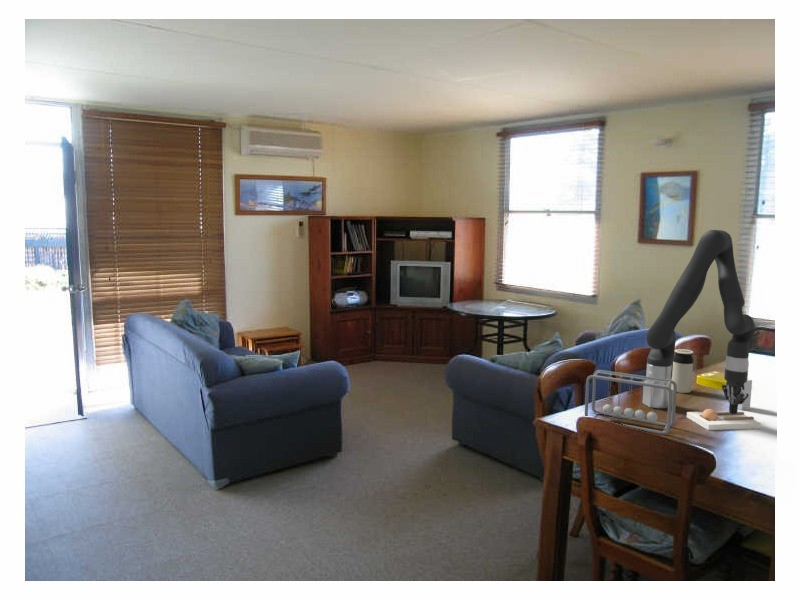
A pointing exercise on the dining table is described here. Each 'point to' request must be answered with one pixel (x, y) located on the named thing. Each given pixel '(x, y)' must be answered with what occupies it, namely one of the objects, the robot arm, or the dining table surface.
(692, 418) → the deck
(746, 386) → the skincare box
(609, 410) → the newton's cradle
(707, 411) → the ball
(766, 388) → the dining table surface
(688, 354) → the travel mug
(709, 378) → the element tile
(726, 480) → the dining table surface
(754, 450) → the dining table surface
